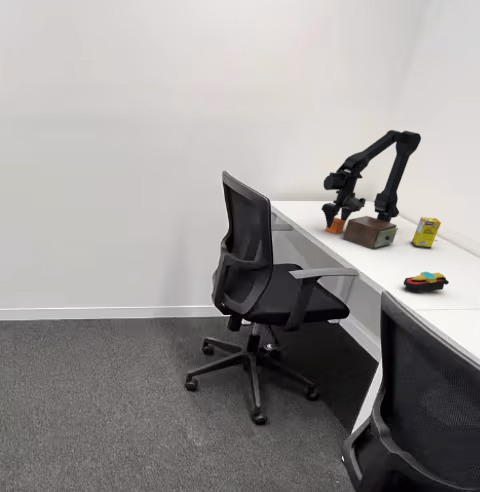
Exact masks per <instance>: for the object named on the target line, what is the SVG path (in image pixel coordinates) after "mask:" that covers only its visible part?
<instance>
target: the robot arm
mask: <svg viewBox="0 0 480 492" xmlns="http://www.w3.org/2000/svg"><path fill="white" fill-rule="evenodd" d="M421 141H422V136H421V134H420V133H418V132H414V131H409V130H404V131H402V132H401V131H399V130H395V129H389V130H388V131H387V132H386V133H385V134H384V135H383V136H381V137H380V138H378V139H377V140H376V141H375V142H373V143H372V144H370V145H369V146H368V147H366V148H365V149H363V150H362V151H358V152H356V153H353V154H351V155H349V156H348V157H347V158H346V159H345V160H344V162H343V163H342V164H341V165H340V166H339V168H338V169H337V170H336V171H335V172H334V171H333V172H332V171H331V172H329V174H328V175H327V176H325V178H324V179H323V183H322V184H323V188H324V190H325V191H335V194H337V195H336V198H335V200H334V199H333V201H332V202H327V203H324V204H323V205H322V206H321V211H322V212H323V214H324V217H325V222H326V226H327V227H328V228H330V227H331V225H332V222H333V220H334V218H336V217H337V216H338V215H339V212H340V219H342V220H345V221H346V222H347V221H348V220H349V217H350V216H351V215H352V213H357V212H360V211H361V209H363V208H365V205H366V201H367V199H366V198H364V197H360V198H359V197H358V198H357V197H356V192H354V191H355V188H356V186H357V182H358V179H363V175H362V172H364V170H365V169H366V168H367V167H368V166H369V163H370V162H371V161H372V160H373V159H374V158H376V157H377V156H379V155H380V154H381V153H382V152H384V151H385V150H387V149H388V148H389V147H391V146H392V145H394V144H395V151H396V154H395V158H394V161H393V163H392V165H391V166H392V167H391V169H390V172H389V175H388V178H387V180H386V183H385V186H384V189H383V190H382V191H381V192H377V193H376V196H375V200H373V203H374V204H373V207H374V212H375V213H377V216H376V219H379V220H382V221H385V222H389V223H391V220H392V219H394V218H397V217H398V216H399V215H400V211H399V209H398V207H397V205H398V189H399V187H400V184H401V181H402V178H403V175H404V173H405V170H406V167H407V164H408V162H409V159H410V157H411V155H413V154H414V152H416V151H417V149H418V147H419V145H420V143H421ZM340 210H341V211H340Z"/></svg>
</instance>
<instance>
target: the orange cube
mask: <svg viewBox="0 0 480 492" xmlns="http://www.w3.org/2000/svg"><path fill="white" fill-rule="evenodd" d="M346 222H347V220H346V221H345V220H342V219H341V218H338V217H334V220H333V222H332V225H331V227H330V228H328V227H327V225H326V226H325V232H329V233H332V234H334V235H336V234H341V233H343V232H344V228H345V224H346Z"/></svg>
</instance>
